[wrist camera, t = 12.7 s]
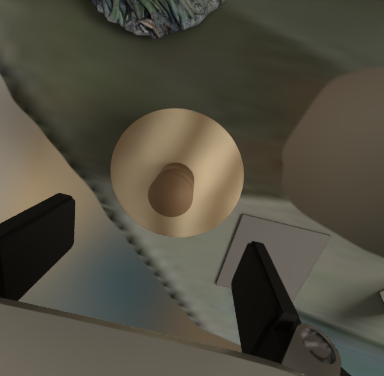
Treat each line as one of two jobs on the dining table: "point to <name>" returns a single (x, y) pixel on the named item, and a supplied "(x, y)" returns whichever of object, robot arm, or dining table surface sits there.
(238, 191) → the lid
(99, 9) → the tree stump
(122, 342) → the robot arm
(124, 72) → the dining table surface
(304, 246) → the mat
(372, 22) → the dining table surface
